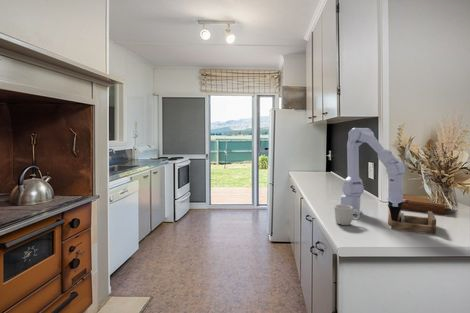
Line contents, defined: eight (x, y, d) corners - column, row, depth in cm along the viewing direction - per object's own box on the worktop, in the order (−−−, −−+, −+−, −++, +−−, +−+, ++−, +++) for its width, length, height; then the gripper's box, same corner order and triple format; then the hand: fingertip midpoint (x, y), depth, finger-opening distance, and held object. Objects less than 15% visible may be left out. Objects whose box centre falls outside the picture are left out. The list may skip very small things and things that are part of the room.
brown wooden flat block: (393, 209, 164) (394, 199, 163) (399, 203, 179) (399, 193, 178) (445, 216, 150) (445, 204, 150) (446, 208, 165) (446, 198, 165)
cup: (358, 222, 138) (359, 205, 137) (360, 228, 130) (360, 210, 130) (334, 220, 141) (334, 204, 141) (333, 225, 134) (334, 208, 133)
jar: (387, 224, 134) (388, 207, 133) (388, 221, 138) (388, 205, 138) (400, 226, 132) (401, 208, 131) (400, 223, 136) (401, 206, 135)
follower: (400, 227, 129) (401, 218, 129) (400, 221, 139) (400, 212, 138) (404, 228, 128) (404, 218, 128) (403, 221, 138) (403, 212, 138)
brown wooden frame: (391, 228, 129) (391, 215, 128) (391, 219, 142) (391, 207, 142) (435, 234, 122) (436, 220, 121) (431, 224, 135) (431, 211, 134)
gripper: (406, 192, 125) (405, 224, 127) (405, 187, 138) (404, 216, 139) (387, 191, 129) (386, 222, 130) (388, 186, 142) (387, 214, 143)
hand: (394, 219), depth 135 cm, fingers closed on jar, 5 cm apart
